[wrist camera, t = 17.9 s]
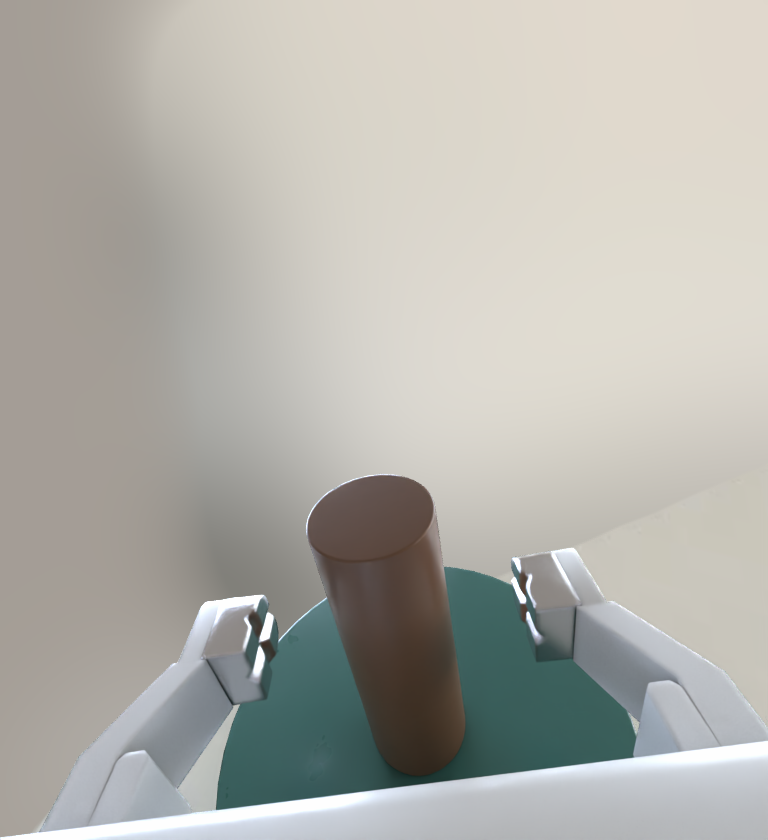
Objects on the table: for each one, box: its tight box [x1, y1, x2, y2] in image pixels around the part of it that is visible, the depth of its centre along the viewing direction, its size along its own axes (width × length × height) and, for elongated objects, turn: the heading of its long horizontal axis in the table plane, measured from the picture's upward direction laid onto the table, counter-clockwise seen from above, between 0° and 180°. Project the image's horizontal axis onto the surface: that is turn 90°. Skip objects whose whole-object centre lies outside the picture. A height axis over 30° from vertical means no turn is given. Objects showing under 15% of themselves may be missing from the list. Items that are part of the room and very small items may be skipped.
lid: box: [216, 475, 637, 810], centre depth 10 cm, size 11×11×9 cm
